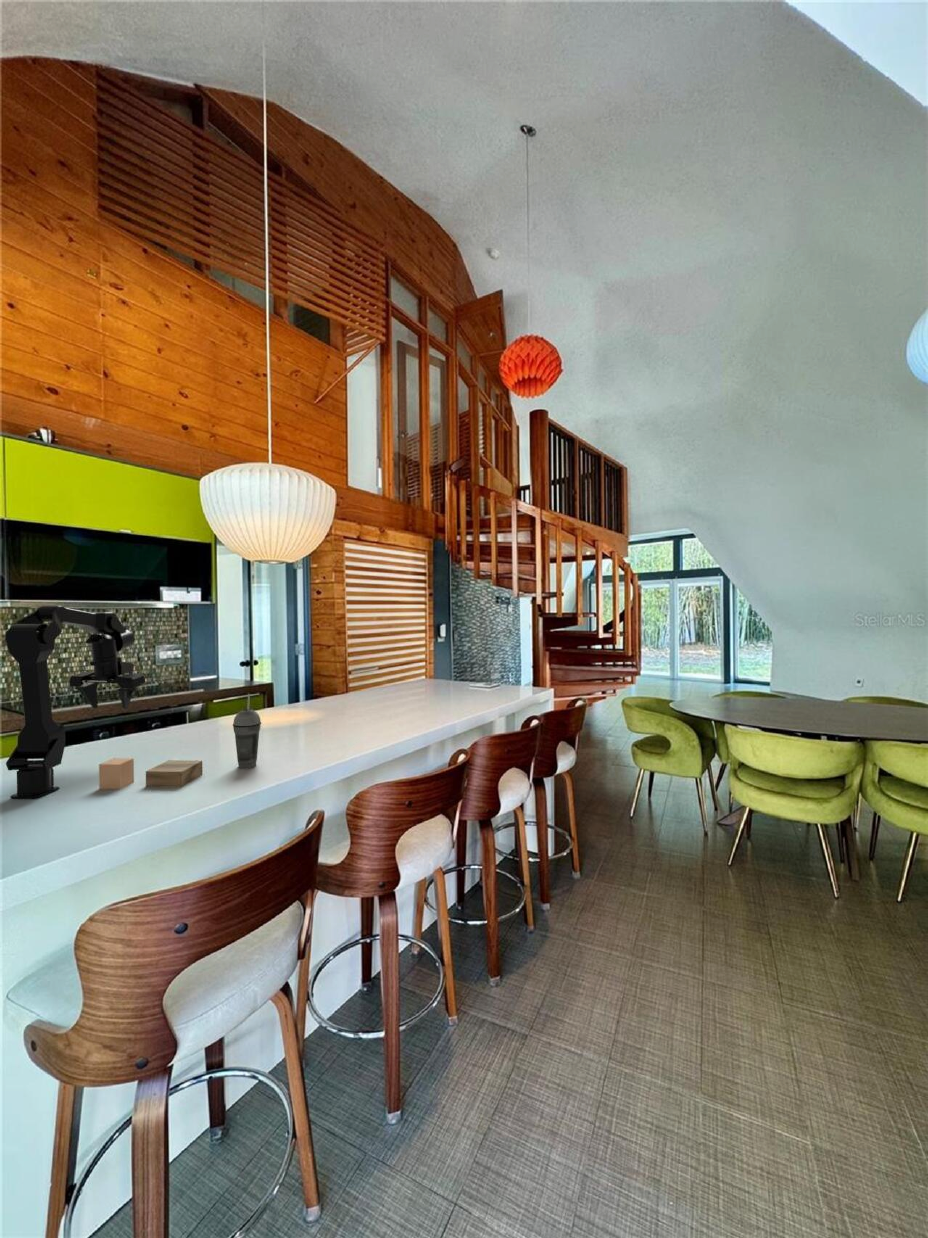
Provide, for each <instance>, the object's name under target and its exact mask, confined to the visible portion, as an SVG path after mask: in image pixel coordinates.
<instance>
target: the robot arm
mask: <svg viewBox="0 0 928 1238" xmlns="http://www.w3.org/2000/svg"><path fill="white" fill-rule="evenodd" d="M46 623H49V624H46ZM63 625H67V626H75V627H79V628H80V629H81V631H84V632H87V633H91V634H90V635H89V637H88V638H87V639H86V640H85V644H90V649H91V656H92V657H91V658H92V660H91V661H88V663H89V666H92V667H93V671H82V672H79V673H76V674H74V675H71V676H70V678H69V680H68V682H69V687H73V688H74V690H76V691H78V692H79V693H80V694H81V695H82V697H84V699H85V700H86V701H87V702H88V703H89V705H90V706H91V707H92V708H93V709H95V710H96V709H98V707H99V706H98V705H99V702H98V701H99V700H98V691H97V688H98V686H99V684H117V686H118V687H119V688H117V692H118V696H119V699H120V702H121V705H122V706H121V707H122V708H123V710H128V709H129V706H130V704H131V703H130V702H131V700H132V697H133V694H134V692H135V690H136V688H138V687H141V685H143V684H145V683H146V677H145V675H144V674H143V673H134V667H135V663H133V662H127V661H126V662H125V661H123V658H121V656H118V652H121V651H123V650H125V649H127V648H131V647H132V646H133V645H134V644H135V642H136V638H135V637H136V636H135V635H134V633H133V632H131V631H130V630H128V627H127V625H123V624H122V622H121V621H120V619H119V617H117V614H116V613H115V612H112V611H84V610H78V609H73V608H68V607H64V606H62V605H42V606H39V607H37V608H36V610H34V611H33V612H32V613H30V614H28V615H25V616H23V617H22V618H20V619H18V620H17V621H15V622H14V624H12V625H11V626H10V627H9V628H8V629H7V630H6V631H5V635H4V639H5V644H6V647H7V651H8V653H9V654H10V656H11V657H12V658H13V659H14V660H15V661H16V662H17V664H18V668H19V669H18V670H19V677H20V678H19V679H20V687H21V697H22V706H23V716H24V725H23V727H22V729H20V731H19V733H18V735H17V744H16V747H15V748H14V749H13V751H12V752H11V754H10V756H9V758H8V759H7V760H6V761H5V766H6V768H7V771H16V793H14V794H11V795H10V799H39V798H41V797H44V796H45V795H48V794H50V793H53V792H55V791H58V790H60V786H55V785H54V784H55V783H54V782H55V777H54V775H55V774H54V772H55V771H54V767H58V766H59V765H61V764H62V760H63V755H64V752H65V749H66V748H65V746H66V742H65V741H66V740H67V738H66V736H65V726H64V724H63V723H56V721H54V719H53V711H52V702H51V701H52V699H51V691H50V681H49V672H48V659H49V658H50V656H51V655H52V653H53V651H54V650H55V640H56V639H58V637H59V635H60V634H61V633H62V632H63V627H62V626H63ZM125 674H126V675H125Z"/></svg>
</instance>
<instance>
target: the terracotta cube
mask: <svg viewBox="0 0 928 1238" xmlns="http://www.w3.org/2000/svg"><path fill="white" fill-rule="evenodd" d="M134 760H135V759H134V757H133V758H128V757H127V758H126V757H124V758H123V757H122V758H120V757H119V758H116V757H115V758H114V757H113V758H112V759H109V760H107V761H106V760H105V761H104V762H101V763H99V765H98V773H99V774H98V778H99V780H98V781H99V782H98V783H99V784H98V785H99V786H98V787H99V790H122V789H123V788H125V787H127V786H129V785H131V784H134V782H135V773H134V771H135V769H134V766H135V763H134V762H135V761H134Z"/></svg>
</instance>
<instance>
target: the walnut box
mask: <svg viewBox="0 0 928 1238" xmlns="http://www.w3.org/2000/svg"><path fill="white" fill-rule="evenodd" d="M201 776H203V760H169V759H168V760H167V761H165V762H163V763H160V764H158V765H155V766H154V767H152V768H149V769H148V770H146V771H145V787H165V788H167V786H168V788H169V787H171V788H173V787H177V788H181V787H185V786H186V785H187V784H189V783H191V782H192V781H195V780H196V779H198V778H200V777H201ZM194 779H195V780H194ZM185 784H186V785H185ZM172 786H173V787H172Z"/></svg>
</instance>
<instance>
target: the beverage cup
mask: <svg viewBox="0 0 928 1238" xmlns="http://www.w3.org/2000/svg"><path fill="white" fill-rule="evenodd" d="M250 698H251V693H247V707H246V709H242V710H240V711H239V712H237V713H236V715H235V717H234V718H233V724H232V729H233V733H234V737H235V747H236V758H237V764H238V768H239V769H251V768H254V766H255V767H256V766H257V761H258V753H259V752H258V751H259V738H260V730H261V725H262V720H261V717H260V715H259V714H258V712H257V711H255V710H254V709H252V708H250V704H251V703H250V701H251V700H250Z"/></svg>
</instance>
